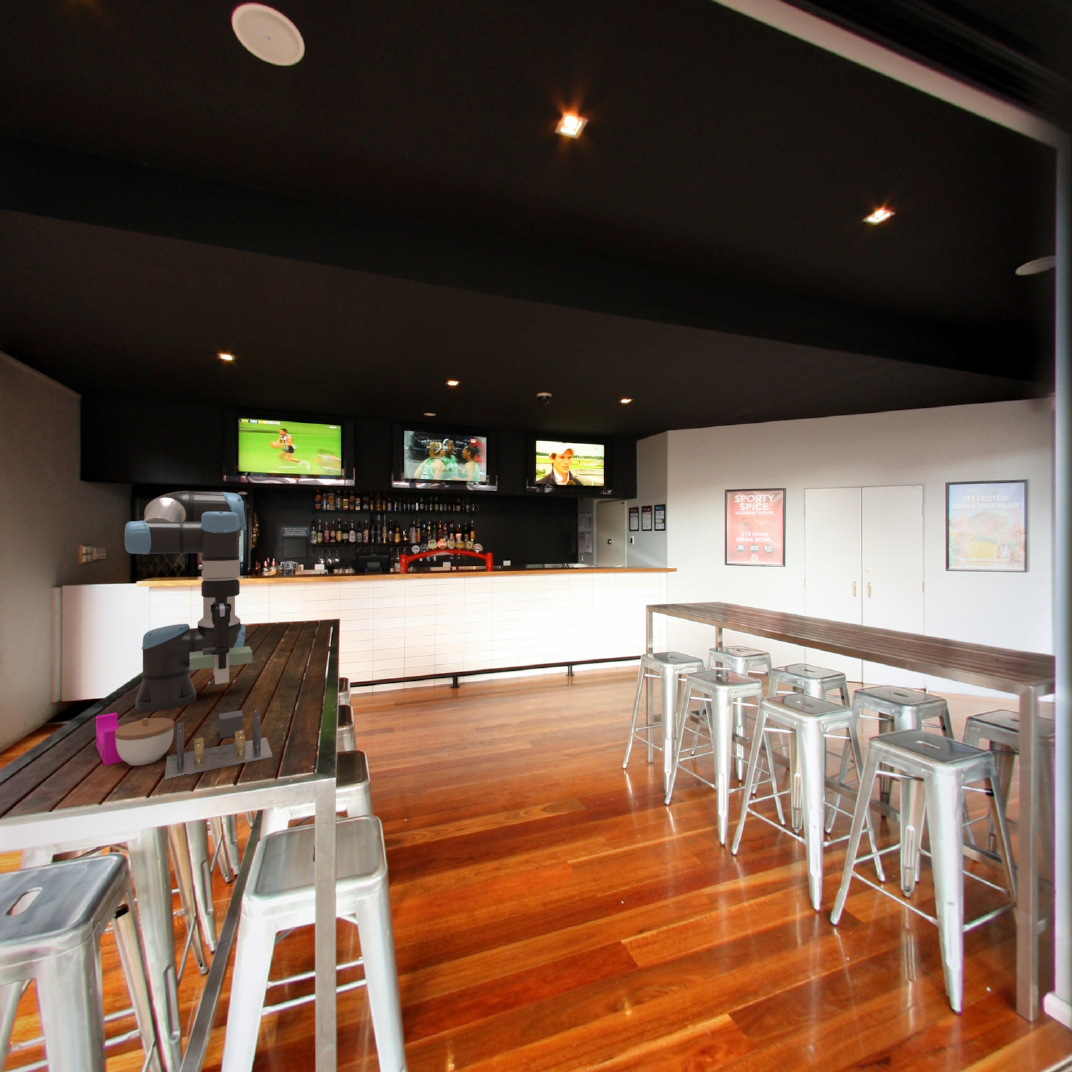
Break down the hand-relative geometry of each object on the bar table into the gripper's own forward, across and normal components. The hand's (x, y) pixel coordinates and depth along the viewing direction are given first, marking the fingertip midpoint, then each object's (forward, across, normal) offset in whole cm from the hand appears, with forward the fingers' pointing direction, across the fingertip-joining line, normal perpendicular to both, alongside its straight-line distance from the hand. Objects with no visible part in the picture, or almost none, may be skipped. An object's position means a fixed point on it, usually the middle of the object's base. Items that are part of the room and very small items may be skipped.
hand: (221, 678), depth 120 cm
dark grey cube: (+18, -15, +3) cm, 24 cm away
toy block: (+18, -17, -20) cm, 32 cm away
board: (-4, 0, 0) cm, 4 cm away
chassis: (+18, +1, 0) cm, 18 cm away
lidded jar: (+18, -8, -14) cm, 24 cm away
